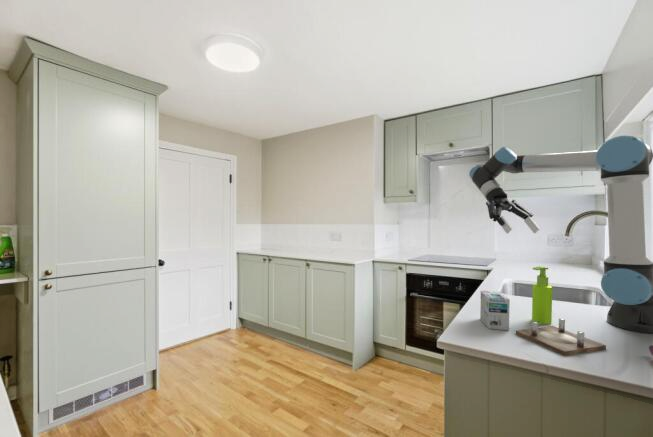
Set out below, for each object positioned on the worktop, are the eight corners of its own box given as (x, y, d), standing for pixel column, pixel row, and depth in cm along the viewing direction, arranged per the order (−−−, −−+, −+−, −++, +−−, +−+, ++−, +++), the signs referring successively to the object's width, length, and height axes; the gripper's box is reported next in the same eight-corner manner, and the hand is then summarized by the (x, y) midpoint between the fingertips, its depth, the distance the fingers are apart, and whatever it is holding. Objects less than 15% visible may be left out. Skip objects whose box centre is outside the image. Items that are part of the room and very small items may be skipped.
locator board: (552, 329, 107) (553, 314, 107) (606, 349, 92) (606, 331, 91) (515, 334, 102) (515, 318, 102) (564, 355, 87) (565, 337, 87)
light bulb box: (509, 331, 105) (510, 299, 105) (488, 329, 107) (488, 297, 106) (499, 320, 116) (499, 291, 115) (479, 318, 117) (479, 290, 117)
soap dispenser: (525, 319, 116) (527, 266, 116) (539, 318, 118) (541, 265, 118) (541, 325, 111) (542, 268, 110) (555, 323, 113) (556, 268, 112)
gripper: (511, 200, 141) (541, 237, 127) (465, 198, 133) (491, 237, 120) (522, 187, 135) (554, 224, 122) (474, 185, 128) (503, 224, 114)
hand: (523, 231), depth 121 cm, fingers open, 13 cm apart
